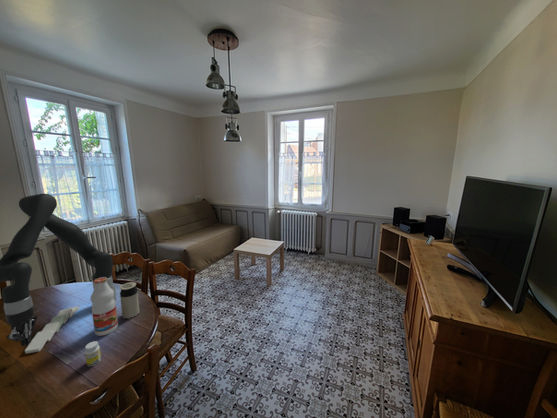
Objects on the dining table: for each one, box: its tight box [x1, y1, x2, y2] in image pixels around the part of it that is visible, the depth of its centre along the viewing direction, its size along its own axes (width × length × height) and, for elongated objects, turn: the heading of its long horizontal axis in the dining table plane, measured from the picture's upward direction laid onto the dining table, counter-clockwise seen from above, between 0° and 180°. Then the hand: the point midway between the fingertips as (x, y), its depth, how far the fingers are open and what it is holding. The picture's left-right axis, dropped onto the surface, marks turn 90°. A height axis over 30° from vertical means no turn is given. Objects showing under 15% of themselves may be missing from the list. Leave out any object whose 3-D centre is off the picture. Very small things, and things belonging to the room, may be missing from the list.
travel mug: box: [119, 281, 140, 319], centre depth 121 cm, size 8×8×18 cm
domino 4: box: [41, 322, 60, 342], centre depth 105 cm, size 2×5×9 cm
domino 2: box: [56, 307, 72, 325], centre depth 117 cm, size 2×5×9 cm
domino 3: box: [49, 315, 66, 334], centre depth 111 cm, size 2×5×9 cm
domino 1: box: [24, 330, 52, 354], centre depth 99 cm, size 2×5×9 cm
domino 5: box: [67, 306, 80, 319], centre depth 122 cm, size 2×5×9 cm
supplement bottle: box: [84, 340, 102, 367], centre depth 91 cm, size 5×5×8 cm
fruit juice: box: [90, 277, 119, 337], centre depth 108 cm, size 9×9×28 cm
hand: (26, 344), depth 93 cm, fingers closed
